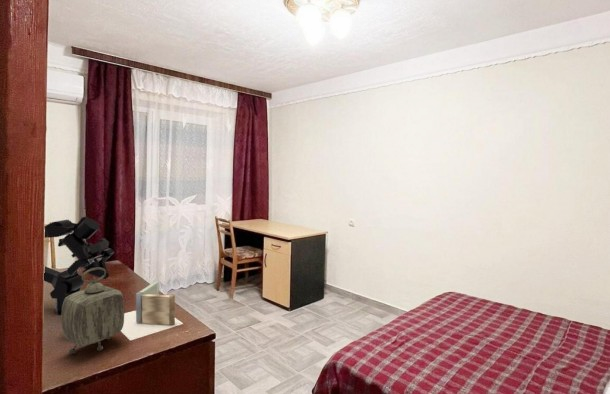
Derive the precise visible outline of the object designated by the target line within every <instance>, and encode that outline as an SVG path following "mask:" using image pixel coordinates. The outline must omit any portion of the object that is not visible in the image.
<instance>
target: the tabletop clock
mask: <svg viewBox="0 0 610 394" xmlns="http://www.w3.org/2000/svg"><path fill="white" fill-rule="evenodd" d="M99 269H100V270H103V271H104V272H105V274H104V275H103V276H102V277H97V276H94V277H92V279H91V280H86V279H85V278H84V277H85V275H87V274H88V272H90V271H93V270H99ZM105 275H106V270H105V269H104V268H100V267H97V268H92V269H89V270H87V271H86V272H85V273H82V275H81V276H82V280H83V281H84V282H83V283H87V285H86V287H85V289H82V290H80V291H79V292H76V293H73V294H71V295H69V296H68V297H66V298H65V300H64V302H63V306H62V314H60V315H61V316H60V317H61V318H60V320H61V331H62V334H63V336H64V338H65V340H67V341H70V342H71V343H73V344H74V346H73V348H70V349H69V351H68V354H70V355H73V354H75V353H76V351H77V348H78V346H79V347H85V346H89V345H92V344H95V343H97V345H98V346H97V347H96V350H97V351H98V352H102V351H103V349H104V346H103V345H101V341H103V340H105V339H106V340H111V339H112V336H114V335H116V334H119V333H120V332H121V330H122V328H123V324H124V313H125V300H124V296H123V293H122V292H121V290H119V289H116V288H113V287H109V286H106V285H104V284H103V283H102V282H99V281H101V280H104V279H103V278H104V277H105Z"/></svg>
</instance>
